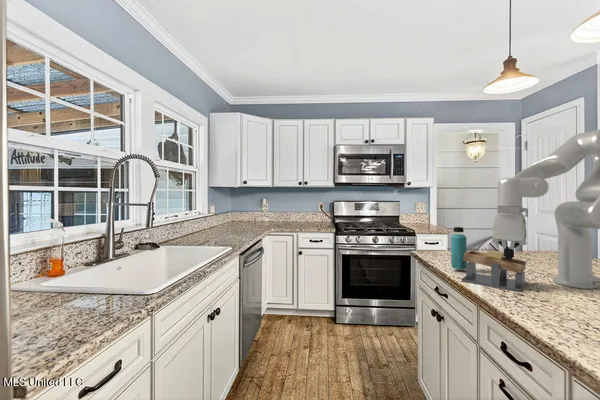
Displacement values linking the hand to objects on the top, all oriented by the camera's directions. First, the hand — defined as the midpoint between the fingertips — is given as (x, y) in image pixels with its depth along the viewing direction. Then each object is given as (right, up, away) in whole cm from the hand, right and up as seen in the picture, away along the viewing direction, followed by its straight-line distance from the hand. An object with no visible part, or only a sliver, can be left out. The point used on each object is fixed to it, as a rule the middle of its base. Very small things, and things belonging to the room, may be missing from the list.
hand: (508, 258), depth 111 cm
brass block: (-3, -1, +4) cm, 5 cm away
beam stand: (-3, -10, +4) cm, 11 cm away
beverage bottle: (-7, -10, +23) cm, 26 cm away
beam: (-3, -3, +4) cm, 6 cm away
